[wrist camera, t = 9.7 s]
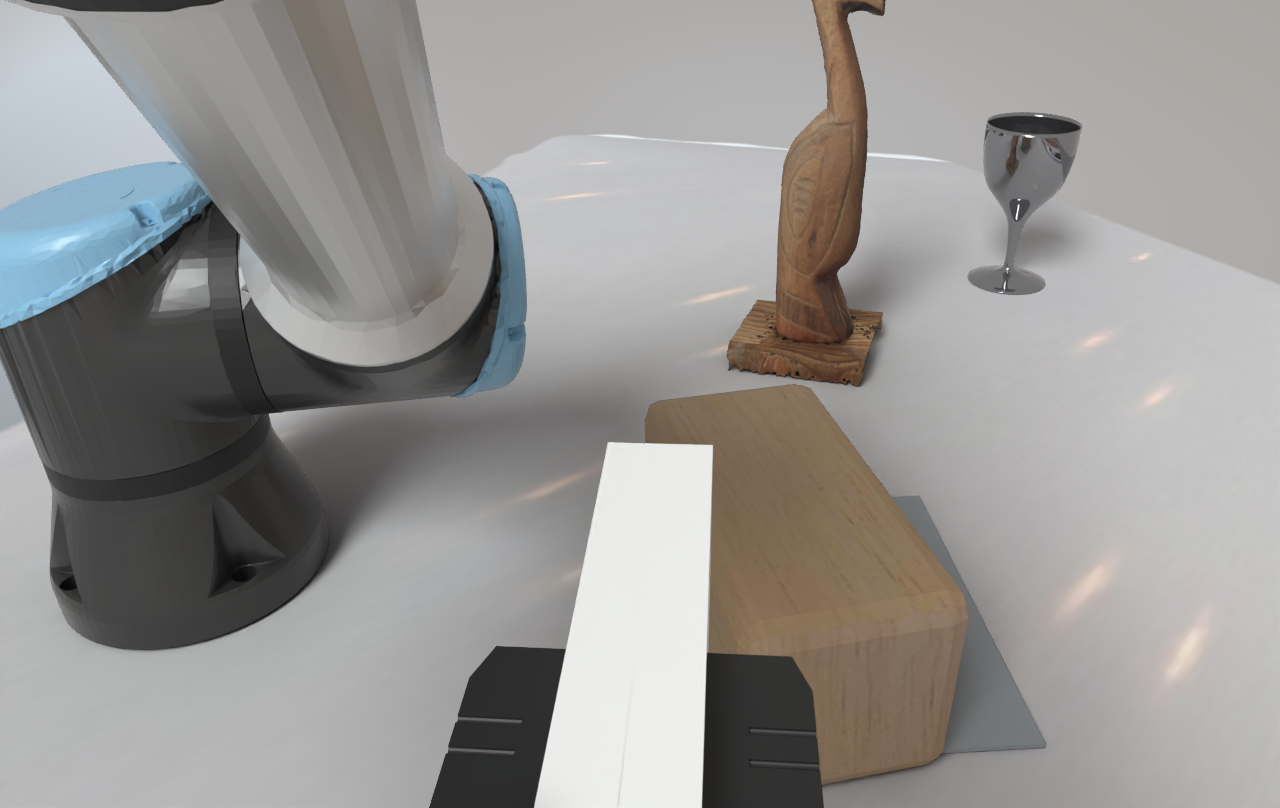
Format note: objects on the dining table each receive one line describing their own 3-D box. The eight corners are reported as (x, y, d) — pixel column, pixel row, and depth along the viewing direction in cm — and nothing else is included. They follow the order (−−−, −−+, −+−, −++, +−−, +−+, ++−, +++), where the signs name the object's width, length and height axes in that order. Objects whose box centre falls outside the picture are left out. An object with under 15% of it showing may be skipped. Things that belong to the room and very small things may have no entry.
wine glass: (1007, 302, 89) (1037, 139, 82) (945, 274, 95) (967, 120, 88) (1068, 284, 92) (1102, 125, 85) (1004, 258, 98) (1030, 108, 91)
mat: (641, 512, 62) (641, 508, 62) (918, 499, 63) (919, 495, 63) (662, 768, 45) (662, 764, 45) (1045, 747, 46) (1046, 743, 45)
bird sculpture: (871, 393, 76) (937, -58, 60) (724, 372, 79) (750, -65, 63) (880, 333, 85) (940, -71, 69) (749, 317, 88) (777, -76, 72)
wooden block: (948, 769, 44) (799, 514, 61) (982, 602, 39) (809, 375, 56) (738, 811, 43) (644, 537, 60) (744, 642, 38) (640, 395, 55)
